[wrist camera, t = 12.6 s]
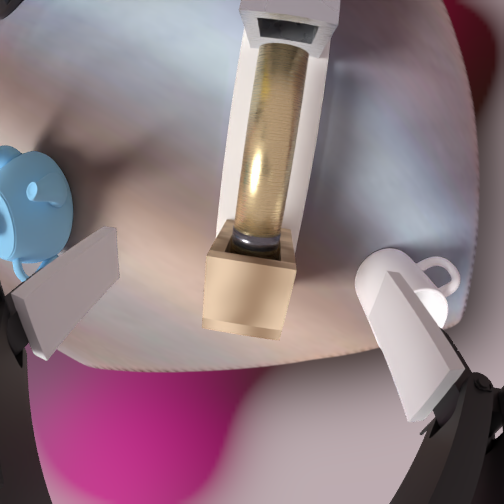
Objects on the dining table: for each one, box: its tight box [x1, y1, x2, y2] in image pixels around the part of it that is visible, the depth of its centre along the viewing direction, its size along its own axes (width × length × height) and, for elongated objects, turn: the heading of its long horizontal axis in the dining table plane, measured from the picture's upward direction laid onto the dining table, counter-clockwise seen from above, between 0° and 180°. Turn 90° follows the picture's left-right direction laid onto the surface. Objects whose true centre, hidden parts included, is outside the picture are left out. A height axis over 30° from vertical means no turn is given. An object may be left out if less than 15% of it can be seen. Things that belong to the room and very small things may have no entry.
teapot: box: [0, 146, 73, 282], centre depth 26 cm, size 17×19×12 cm
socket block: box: [202, 220, 297, 340], centre depth 28 cm, size 7×7×10 cm
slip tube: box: [231, 43, 309, 260], centre depth 22 cm, size 20×4×4 cm, turn 172°
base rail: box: [216, 28, 331, 255], centre depth 25 cm, size 9×40×1 cm, turn 172°
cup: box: [355, 248, 460, 348], centre depth 27 cm, size 8×12×10 cm
